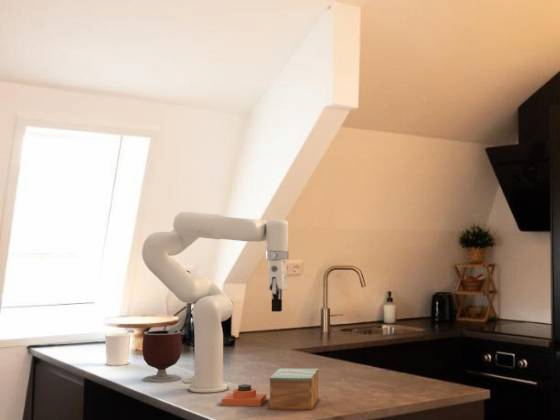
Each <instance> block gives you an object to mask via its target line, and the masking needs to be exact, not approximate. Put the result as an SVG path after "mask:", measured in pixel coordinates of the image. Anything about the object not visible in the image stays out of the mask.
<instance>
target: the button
mask: <svg viewBox="0 0 560 420" xmlns="http://www.w3.org/2000/svg"><path fill="white" fill-rule="evenodd" d="M251 388H252V385H251V384H247V383H246V384H239V385H238V386H237V389H238V391H251Z"/></svg>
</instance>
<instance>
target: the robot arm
mask: <svg viewBox="0 0 560 420" xmlns="http://www.w3.org/2000/svg"><path fill="white" fill-rule="evenodd" d="M172 228H173V229H172V230H171V231H155V232H152V233H150V234H148V235H147V236H146V237H145V238H144V239H143V242H142V244H141V257H142V261H143V262H144V265H145V266H146V267H147V269H148V270H149V271H150V272H151V274H153V275H154V276H155V277H156V278H157V279H158V280H159V281H160V282H161V283H162V284H163V285H164V286H165V287H166V288H167V289H168V290H169V291H170V292H171V293H172V294H173V295H174V296H175V297H176V298H177V299H178V300H179V301H181V302H182V303H185V304H186V303H187V304H189V303H194V305H193V308H192V322H193V330H194V333H193V334H194V362H193V363H194V364H193V366H194V367H193V368H194V369H193V370H194V371H193V374H194V375H193V376H191V377H188V376H183V377H182V379H181V382H182V384H188V385H189V384H190V386H189V392H191V393H192V392H193V393H201V394H202V393H203V394H204V393H205V394H206V393H219V392H223V391H226V390H228V384H226V383H224V332H223V326H222V322H225V321H227V320H229V319H230V318H231V316H232V315H233V312H234V303H233V302H232V300H231V298H230V297H229V296H228V295H227V294H226V293H225V292H224V291H223V290H222V289H221V288H220V287H219V286H218V285H217V284H216V283H215V282H213V280H211V278H209V277H207V276H206V275H203V274H199V273H198V274H197V273H196V274H193V273H190V272H189V271H187V270H186V269H185V268H184V267H183V265H181V264H180V263H179V262H178V261H177V260H175V259H173V258H172V256H177V255H179V254H181V253H182V252H184V251H185V250H186V249H188V247H190V246H191V245H192V244H194V243H195V242H196V241H197V240H198V239H201V238H203V239H212V240H230V241H239V242H265V262H268V269H267V270H268V271H267V273H268V274H267V287H268V288H267V289H268V290H269V291H270V292H271V312H273V313H275V312H276V313H277V312H279V313H280V312H282V311H283V291H285V290H287V289H288V270H287V262H289V232H290V231H289V228H290V227H289V222H288V221H287V220H286V219H269V220H265V219H257V218H245V217H244V218H242V217H231V216H224V215H222V214H218V213H207V212H196V211H182V212H179V213H177V214H176V215H175V216H174V218H173V220H172Z"/></svg>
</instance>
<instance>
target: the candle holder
mask: <svg viewBox="0 0 560 420" xmlns="http://www.w3.org/2000/svg"><path fill="white" fill-rule="evenodd" d="M104 339H105V355H106V356H105V359H106V365H107V366H124V365H127V364H129V358H130V357H129V355H130V344H131V333H128V332H114V333H113V332H112V333H106V334H105V335H104Z"/></svg>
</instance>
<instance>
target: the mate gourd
mask: <svg viewBox="0 0 560 420" xmlns="http://www.w3.org/2000/svg"><path fill="white" fill-rule="evenodd" d="M181 324H182V323H181V322H180V321H179V322H177V323H176V324H173V325H172V326H171V327H170V328H169V329H161V330H160V329H159V330H148V331H143V337H142V343H141V345H142V346H141V347H142V348H141V351H142V357H143V360H144V362H145V363H146V364H147V366H149V367H152V368H154V369H156V370H157V372H156V374H152V375H147V376H144V377H143V381H144V382H147V383H167V382H174V381H175V382H176V381H177V380H180V376H179V375H177V374H169V373H168V372H167V369H169V368H170V367H172V366H174V365H176V364H177V363H178V361H179V360H180V357H181V356H182V355H181V354H182V350H183V349H182V348H183V347H182V346H183V342H182V336H181V335H182V334H181V331H180V330H177V328H178V326H179V325H181Z"/></svg>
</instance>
